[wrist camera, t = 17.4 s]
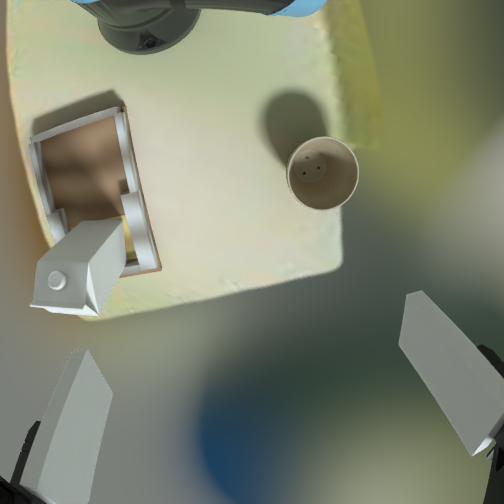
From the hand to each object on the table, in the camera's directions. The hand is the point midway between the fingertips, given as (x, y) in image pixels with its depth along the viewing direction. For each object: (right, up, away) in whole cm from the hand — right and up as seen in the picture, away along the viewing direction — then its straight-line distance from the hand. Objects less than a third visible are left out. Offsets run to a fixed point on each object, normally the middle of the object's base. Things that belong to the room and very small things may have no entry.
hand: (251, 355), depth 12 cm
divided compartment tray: (-24, +12, +32) cm, 42 cm away
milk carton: (-23, +6, +34) cm, 41 cm away
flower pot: (+9, +17, +34) cm, 39 cm away
